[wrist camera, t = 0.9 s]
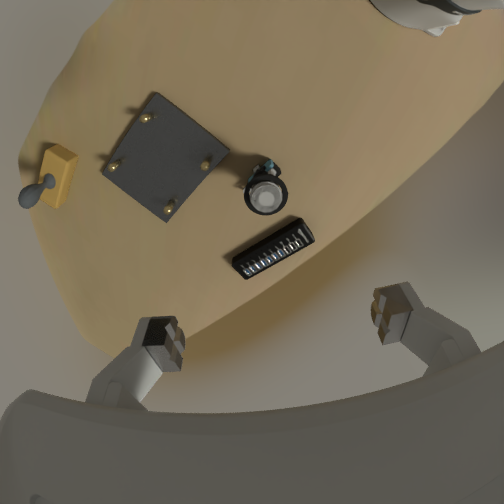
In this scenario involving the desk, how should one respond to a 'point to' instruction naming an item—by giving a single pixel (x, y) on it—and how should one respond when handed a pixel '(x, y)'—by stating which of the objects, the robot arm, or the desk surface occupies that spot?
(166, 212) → the chassis
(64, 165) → the rubber stamp
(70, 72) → the desk surface
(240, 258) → the multiport hub
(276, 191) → the push button
